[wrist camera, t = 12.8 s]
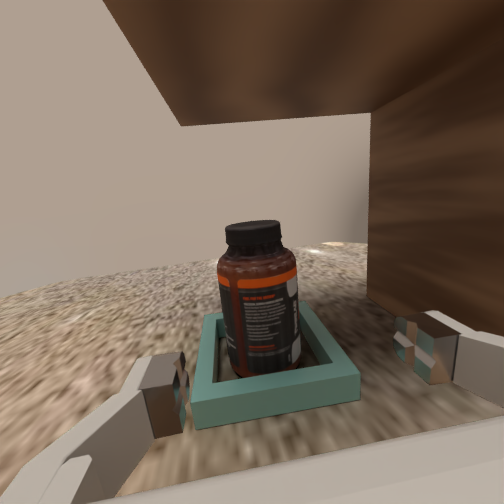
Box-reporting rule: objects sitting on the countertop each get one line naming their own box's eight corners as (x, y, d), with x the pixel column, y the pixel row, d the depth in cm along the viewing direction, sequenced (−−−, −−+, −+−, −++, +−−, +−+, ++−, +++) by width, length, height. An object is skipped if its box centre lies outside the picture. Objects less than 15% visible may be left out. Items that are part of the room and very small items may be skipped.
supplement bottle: (318, 363, 19) (313, 219, 16) (253, 401, 16) (234, 234, 13) (273, 329, 24) (263, 216, 21) (218, 354, 21) (199, 226, 18)
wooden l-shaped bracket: (192, 484, 12) (65, -105, 6) (210, 318, 27) (178, 108, 22) (565, 407, 13) (707, -98, 8) (382, 293, 29) (390, 94, 24)
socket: (195, 429, 14) (190, 402, 14) (207, 332, 24) (204, 315, 24) (360, 399, 15) (360, 373, 15) (305, 317, 25) (304, 300, 25)
